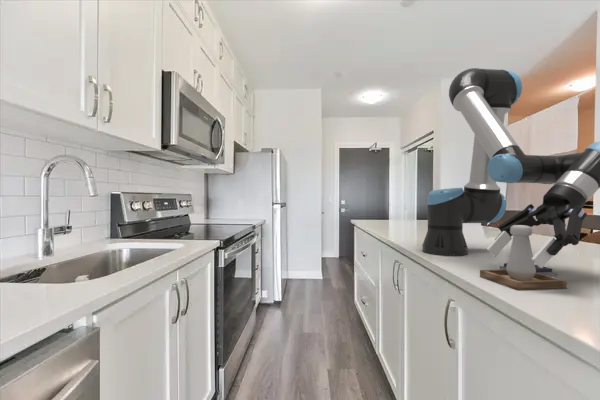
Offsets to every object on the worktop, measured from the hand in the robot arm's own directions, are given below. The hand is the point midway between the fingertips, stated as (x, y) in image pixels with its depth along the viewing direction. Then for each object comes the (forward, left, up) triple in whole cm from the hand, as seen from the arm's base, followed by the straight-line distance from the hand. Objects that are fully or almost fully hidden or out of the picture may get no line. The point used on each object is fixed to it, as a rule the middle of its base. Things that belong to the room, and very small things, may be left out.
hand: (511, 257), depth 76 cm
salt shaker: (0, +2, -6) cm, 6 cm away
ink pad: (-10, +13, -6) cm, 18 cm away
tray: (0, +2, -6) cm, 6 cm away
